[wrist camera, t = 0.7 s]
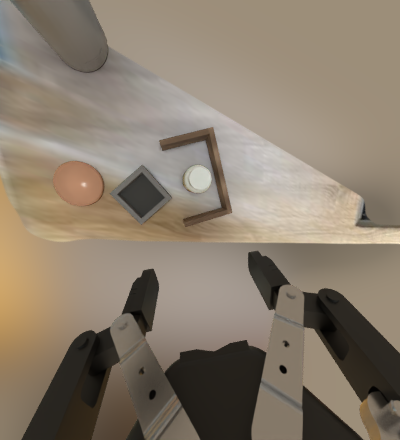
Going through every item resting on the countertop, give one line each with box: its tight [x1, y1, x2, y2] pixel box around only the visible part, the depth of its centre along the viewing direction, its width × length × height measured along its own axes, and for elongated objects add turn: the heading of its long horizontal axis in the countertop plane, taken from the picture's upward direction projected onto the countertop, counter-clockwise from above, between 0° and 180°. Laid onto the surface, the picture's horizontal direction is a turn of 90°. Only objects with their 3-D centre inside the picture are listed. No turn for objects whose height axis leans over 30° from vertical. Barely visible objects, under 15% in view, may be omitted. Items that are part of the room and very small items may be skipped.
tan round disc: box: [53, 161, 104, 206], centre depth 33 cm, size 9×9×1 cm
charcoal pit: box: [110, 165, 172, 225], centre depth 34 cm, size 9×9×2 cm
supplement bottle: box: [183, 165, 212, 193], centre depth 32 cm, size 5×5×10 cm
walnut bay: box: [159, 127, 232, 227], centre depth 34 cm, size 18×11×4 cm, turn 15°
